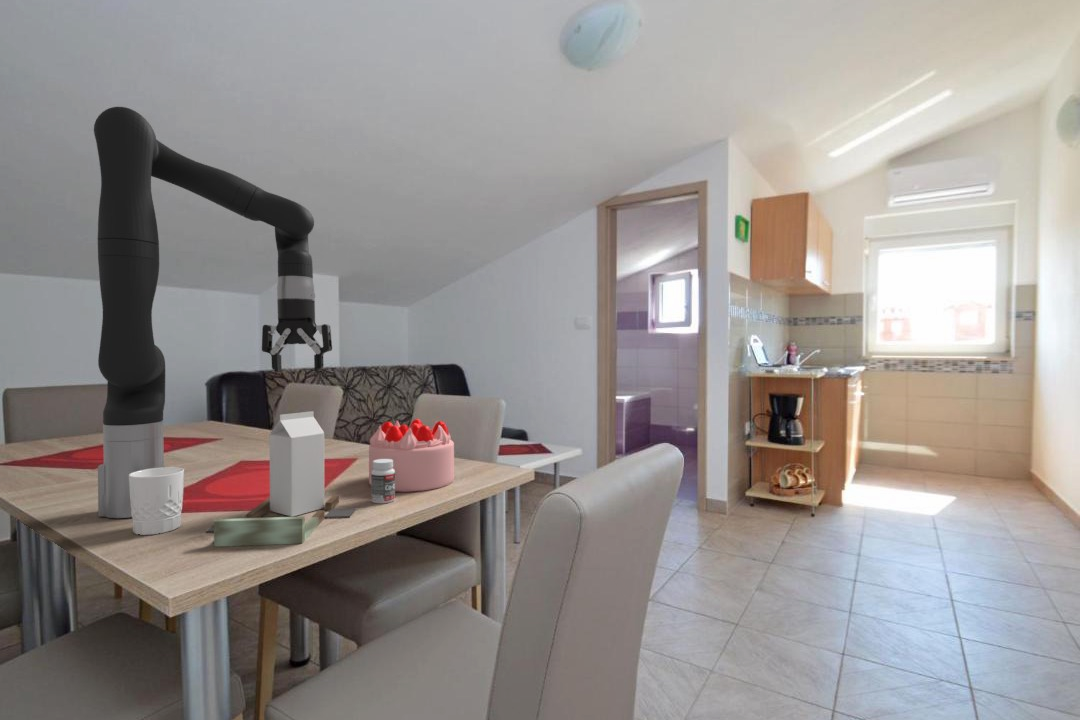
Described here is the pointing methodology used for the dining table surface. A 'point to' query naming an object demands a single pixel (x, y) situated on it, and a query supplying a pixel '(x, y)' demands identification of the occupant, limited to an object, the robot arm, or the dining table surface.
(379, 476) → the pill bottle
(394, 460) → the cake
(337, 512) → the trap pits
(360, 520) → the dining table surface
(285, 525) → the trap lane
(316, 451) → the milk carton
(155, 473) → the white cup
